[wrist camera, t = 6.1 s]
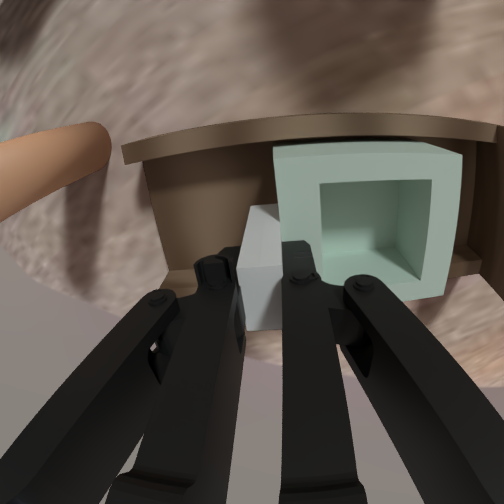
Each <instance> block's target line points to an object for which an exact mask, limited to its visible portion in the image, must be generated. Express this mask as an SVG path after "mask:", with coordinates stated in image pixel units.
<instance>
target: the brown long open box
mask: <svg viewBox="0 0 504 504" xmlns="http://www.w3.org/2000/svg"><path fill="white" fill-rule="evenodd" d="M359 138H401V139H414V140H417V141H421V142H424V143H428V144H431V145H434V146H437V147H440V148H443V149H446V150H449V151H452V152H455V153H458V154H461V155H462V177H461V191H460V202H459V211H458V219H457V227H456V234H455V240H454V246H453V252H452V257H451V262H450V267H449V272H448V277H447V278H454V277H460V276H467V275H473V274H480V275H481V276H482V277H483V278H484V279H485V280H486V282H487V283H488V284H489V285H490V286H491V287H492V288H493V289H494V290H495V291H496V293H497V294H498V295H499V296H500V297H501V298H502V299H503V301H504V126H500V125H495V124H490V123H485V122H479V121H472V120H465V119H457V118H449V117H439V116H428V115H415V114H396V113H324V114H305V115H291V116H279V117H268V118H259V119H250V120H243V121H235V122H228V123H221V124H215V125H209V126H203V127H197V128H192V129H187V130H181V131H176V132H172V133H167V134H162V135H158V136H153V137H149V138H145V139H142V140H138V141H135V142H132V143H128V144H125V145H122V146H121V148H122V153H123V158H124V163H125V165H127V164H131V163H136V162H140V161H142V162H143V167H144V171H145V176H146V181H147V185H148V190H149V194H150V198H151V203H152V207H153V211H154V215H155V219H156V223H157V227H158V231H159V235H160V239H161V242H162V246H163V250H164V253H165V257H166V261H167V264H168V268H169V272H168V274H167V276H166V277H165V279H164V281H163V283H162V284H161V286H160V288H159V289H170V290H173V291H174V292H175V293H176V296H177V298H180V297H184V296H188V295H192V294H194V293H196V290H197V288H198V283H197V279H196V274H195V270H194V266H193V264H194V263H195V262H196V261H197V260H199V259H201V258H203V257H206V256H208V255H214V254H218V253H219V252H220V251H221V250H222V249H223V248H224V247H233V246H241V245H242V241H243V237H244V233H245V228H246V224H247V220H248V215H249V211H250V207H251V206H255V205H266V204H277V203H278V198H277V188H276V179H275V170H274V161H273V144H274V143H285V142H297V141H311V140H329V139H359Z"/></svg>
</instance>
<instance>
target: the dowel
mask: <svg viewBox="0 0 504 504" xmlns="http://www.w3.org/2000/svg"><path fill="white" fill-rule="evenodd" d="M110 154H111V139H110V136H109V134H108V132H107V130H106V129H105V128H104V127H103V126H102V125H101V124H99V123H96V122H86V123H81V124H75V125H70V126H65V127H60V128H55V129H50V130H46V131H42V132H37V133H33V134H29V135H25V136H22V137H18V138H14V139H11V140H7V141H4V142H1V143H0V222H2V221H4V220H5V219H7V218H8V217H10V216H12V215H13V214H15V213H17V212H18V211H20V210H22V209H23V208H25V207H27V206H29V205H30V204H32V203H34V202H36V201H38V200H39V199H41V198H43V197H45V196H47V195H49V194H51V193H53V192H54V191H56V190H58V189H60V188H62V187H64V186H66V185H68V184H70V183H72V182H74V181H76V180H78V179H81V178H83V177H85V176H87V175H89V174H91V173H93V172H96V171H98V170H100V169H101V168H103V167H104V166H105V164H106V163H107V161H108V160H109V157H110Z"/></svg>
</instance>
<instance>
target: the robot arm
mask: <svg viewBox="0 0 504 504" xmlns="http://www.w3.org/2000/svg"><path fill="white" fill-rule="evenodd" d="M193 266H194V270H195V274H196V279H197V283H198V288H197V290H196V293H194V294H192V295H188V296H184V297H180V298H177V296H176V293H175V292H174V291H173V290H170V289H158V290H157V289H156V290H153V291H152V292H149V293H147V294H146V295H145V296H144V297H142V298H141V299H140V301H139V302H138V303H137V304H136V305H135V306H134V307H133V308H132V309H131V310H130V311H129V312H128V313H127V314H126V315H125V316H124V317H123V318H122V319H121V320H120V321H119V322H118V323H117V324H116V326H115V327H114V328H113V329H112V330H111V331H110V332H109V333H108V334H107V335H106V336H105V337H104V339H102V341H101V342H100V343H99V344H98V345H97V346H96V347H95V348H94V349H93V351H92V352H91V353H90V354H89V355H88V356H87V357H86V358H85V359H84V360H83V361H82V362H81V364H80V365H79V366H78V367H77V368H76V369H75V370H74V371H73V372H72V374H71V375H70V376H69V377H68V378H67V379H66V380H65V382H64V383H63V384H62V385H61V386H60V387H59V388H58V389H57V391H56V392H55V393H54V394H53V395H52V397H51V398H50V399H49V400H48V401H47V402H46V404H45V405H44V406H43V407H42V408H41V409H40V411H39V412H38V413H37V414H36V415H35V417H34V418H33V419H32V420H31V421H30V423H29V424H28V425H27V426H26V428H25V429H24V430H23V431H22V432H21V434H20V435H19V436H18V437H17V439H16V440H15V441H14V442H13V444H12V445H11V446H10V448H9V449H8V450H7V451H6V453H5V454H4V455H3V456H2V458H1V459H0V504H99V503H100V501H101V500H102V498H103V497H104V495H105V493H106V492H107V490H108V489H109V487H110V486H111V487H110V489H109V492H108V495H107V499H106V502H105V504H226V499H227V491H228V482H229V475H230V467H231V459H232V451H233V443H234V435H235V427H236V418H237V410H238V403H239V395H240V386H241V379H242V370H243V362H244V354H245V346H246V337H245V332H244V328H245V323H246V328H247V331H261V330H279V329H282V357H283V405H282V407H283V408H282V409H283V410H282V411H283V413H282V467H281V470H282V471H281V489H280V494H279V504H368V503H367V497H366V493H365V489H364V486H363V485H362V484H361V483H360V481H359V479H358V476H357V469H356V461H355V454H354V447H353V439H352V433H351V426H350V419H349V413H348V407H347V401H346V395H345V390H344V384H343V378H342V373H341V368H340V363H339V357H338V352H337V347H336V344H339V345H340V349H341V351H342V353H343V354H344V356H345V358H346V360H347V361H348V363H349V365H350V367H351V368H352V370H353V372H354V374H355V375H356V377H357V379H358V381H359V382H360V384H361V386H362V388H363V390H364V391H365V393H366V395H367V397H368V398H369V400H370V402H371V404H372V406H373V407H374V409H375V411H376V413H377V415H378V416H379V418H380V420H381V422H382V424H383V426H384V427H385V429H386V431H387V433H388V435H389V437H390V438H391V440H392V442H393V444H394V446H395V448H396V450H397V451H398V453H399V455H400V457H401V459H402V461H403V463H404V465H405V467H406V468H407V470H408V472H409V474H410V476H411V478H412V480H413V482H414V484H415V486H416V487H417V490H418V492H419V493H420V495H421V497H422V499H423V501H424V503H425V504H504V420H503V419H502V417H501V416H500V415H499V413H498V412H497V411H496V410H495V408H494V407H493V406H492V404H491V403H490V402H489V400H488V399H487V398H486V397H485V395H484V394H483V393H482V392H481V391H480V389H479V388H478V387H477V385H476V384H475V383H474V382H473V381H472V379H471V378H470V377H469V376H468V374H467V373H466V372H465V371H464V370H463V369H462V367H461V366H460V365H459V364H458V363H457V361H456V360H455V359H454V358H453V357H452V356H451V355H450V353H449V352H448V351H447V350H446V349H445V348H444V347H443V345H442V344H441V343H440V342H439V341H438V340H437V339H436V338H435V336H434V335H433V334H432V333H431V332H430V331H429V330H428V329H427V328H426V327H425V326H424V324H423V323H422V322H421V321H420V320H419V319H418V318H417V317H416V316H415V315H414V314H413V313H412V312H411V311H410V309H409V308H408V307H407V306H406V305H405V304H404V303H403V302H402V301H401V300H400V299H399V298H398V297H397V296H396V295H395V294H394V293H393V292H392V291H391V290H390V289H389V288H388V287H387V286H386V285H385V284H384V283H383V282H382V281H381V280H380V279H378V278H377V277H374V276H371V275H367V274H366V275H365V274H360V275H354V276H351V277H349V278H348V279H346V280H345V282H344V286H340V285H333V284H329V283H326V282H324V281H322V280H321V277H320V275H319V273H317V271H316V267H315V263H314V259H313V254H312V250H311V246H310V244H309V243H307V242H306V241H305V240H298V241H285V242H282V238H281V228H280V218H279V208H278V203H277V204H266V205H255V206H251V207H250V211H249V215H248V220H247V224H246V228H245V233H244V237H243V241H242V245H241V246H233V247H224V248H223V249H222V250H221V251H220V252H219V253H218V254H214V255H208V256H206V257H203V258H201V259H199V260H197V261H196V262H195V263H194V264H193ZM154 342H155V344H156V346H157V347H156V348H155V349H154V350H153V351H151V349H150V347H151V346H152V345H153V344H154ZM143 434H144V436H143ZM142 436H143V439H142V442H141V445H140V448H139V451H138V454H137V457H136V460H135V464H134V466H133V468H132V469H131V470H130V471H129V472H126V473H122V474H119V475H118V473H119V472H120V470H121V469H122V467H123V465H124V464H125V462H126V461H127V459H128V458H129V456H130V455H131V453H132V451H133V450H134V448H135V447H136V445H137V444H138V442H139V440H140V439H141V437H142ZM117 475H118V476H117ZM116 476H117V477H116ZM111 484H112V485H111Z"/></svg>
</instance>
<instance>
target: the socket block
mask: <svg viewBox="0 0 504 504" xmlns="http://www.w3.org/2000/svg"><path fill="white" fill-rule="evenodd" d="M273 161H274V170H275V179H276V188H277V198H278V208H279V218H280V228H281V238H282V242H285V241H298V240H305V241H306V242H307V243H309V244H310V246H311V250H312V254H313V259H314V263H315V267H316V271H317V273H319V275H320V277H321V280H322V281H324V282H326V283H329V284H333V285H340V286H344V282H345V280H346V279H348V278H349V277H351V276H354V275H360V274H365V275H366V274H367V275H371V276H374V277H377V278H378V279H380V280H381V281H382V282H383V283H384V284H385V285H386V286H387V287H388V288H389V289H390V290H391V291H392V292H393V293H394V294H395V295H396V296H397V297H398V298H399V299H400V300H401V301H409V300H416V299H423V298H429V297H435V296H441V295H443V294H444V290H445V286H446V281H447V277H448V272H449V267H450V262H451V257H452V252H453V246H454V240H455V234H456V227H457V219H458V211H459V202H460V191H461V177H462V155H461V154H458V153H455V152H452V151H449V150H446V149H443V148H440V147H437V146H434V145H431V144H428V143H424V142H421V141H417V140H414V139H401V138H359V139H329V140H311V141H297V142H285V143H274V144H273Z"/></svg>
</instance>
